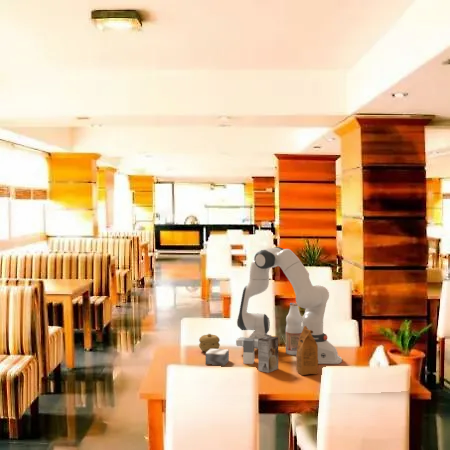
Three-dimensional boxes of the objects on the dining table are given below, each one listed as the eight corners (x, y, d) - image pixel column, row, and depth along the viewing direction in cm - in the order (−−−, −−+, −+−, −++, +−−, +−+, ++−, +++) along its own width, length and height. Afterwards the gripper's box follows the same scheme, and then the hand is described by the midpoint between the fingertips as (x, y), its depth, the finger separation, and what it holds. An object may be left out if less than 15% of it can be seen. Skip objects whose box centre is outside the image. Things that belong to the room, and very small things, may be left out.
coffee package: (313, 368, 282) (314, 325, 281) (319, 375, 269) (319, 330, 269) (294, 369, 281) (294, 325, 281) (299, 376, 269) (299, 330, 268)
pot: (223, 350, 318) (223, 333, 318) (212, 355, 308) (212, 337, 308) (206, 348, 324) (206, 330, 324) (194, 352, 315) (194, 334, 314)
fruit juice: (282, 353, 313) (282, 303, 312) (292, 350, 319) (293, 301, 319) (295, 356, 306) (295, 305, 305) (306, 353, 312) (306, 303, 312)
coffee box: (268, 366, 285) (268, 335, 285) (278, 368, 281) (278, 337, 281) (257, 370, 278) (258, 338, 278) (268, 373, 274) (268, 340, 274)
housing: (254, 361, 295) (254, 339, 295) (252, 364, 290) (252, 341, 290) (245, 361, 296) (245, 338, 296) (243, 363, 291) (243, 340, 291)
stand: (228, 360, 296) (228, 349, 296) (224, 365, 287) (224, 354, 287) (210, 359, 299) (210, 348, 299) (205, 364, 289) (205, 353, 289)
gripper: (238, 333, 318) (233, 339, 305) (274, 335, 314) (270, 340, 300) (238, 344, 318) (233, 350, 305) (274, 346, 314) (270, 352, 300)
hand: (252, 345), depth 302 cm, fingers open, 8 cm apart
